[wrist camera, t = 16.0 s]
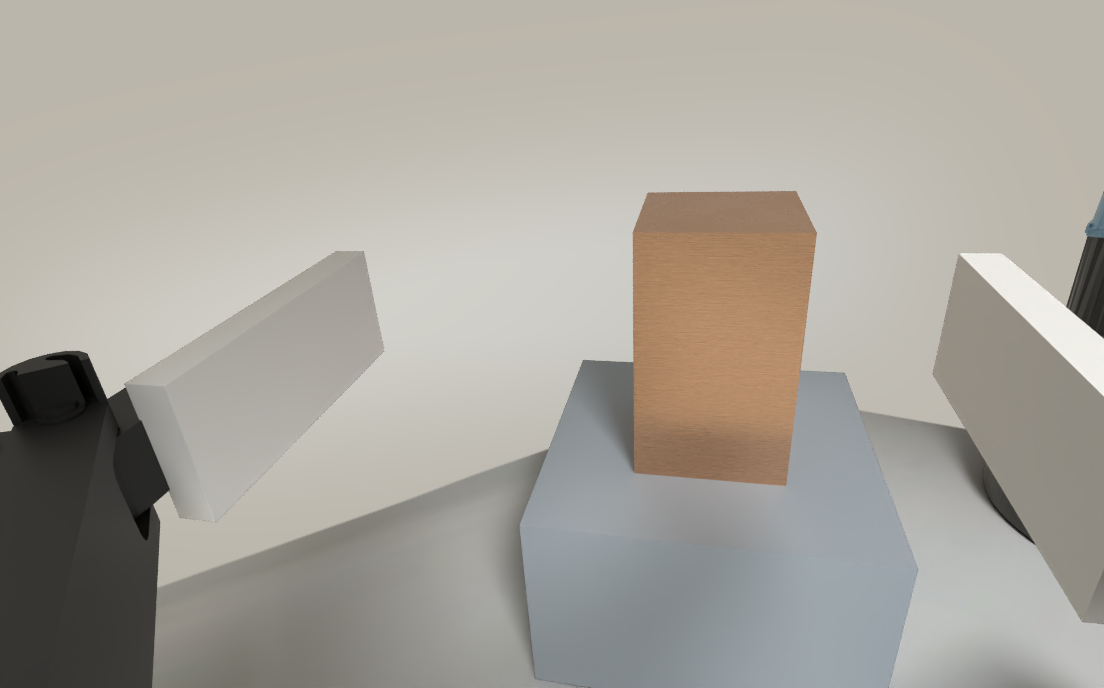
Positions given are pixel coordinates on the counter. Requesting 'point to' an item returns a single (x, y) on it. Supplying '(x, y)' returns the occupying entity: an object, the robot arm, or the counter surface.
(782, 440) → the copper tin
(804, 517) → the stand
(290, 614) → the counter surface
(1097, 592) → the robot arm
